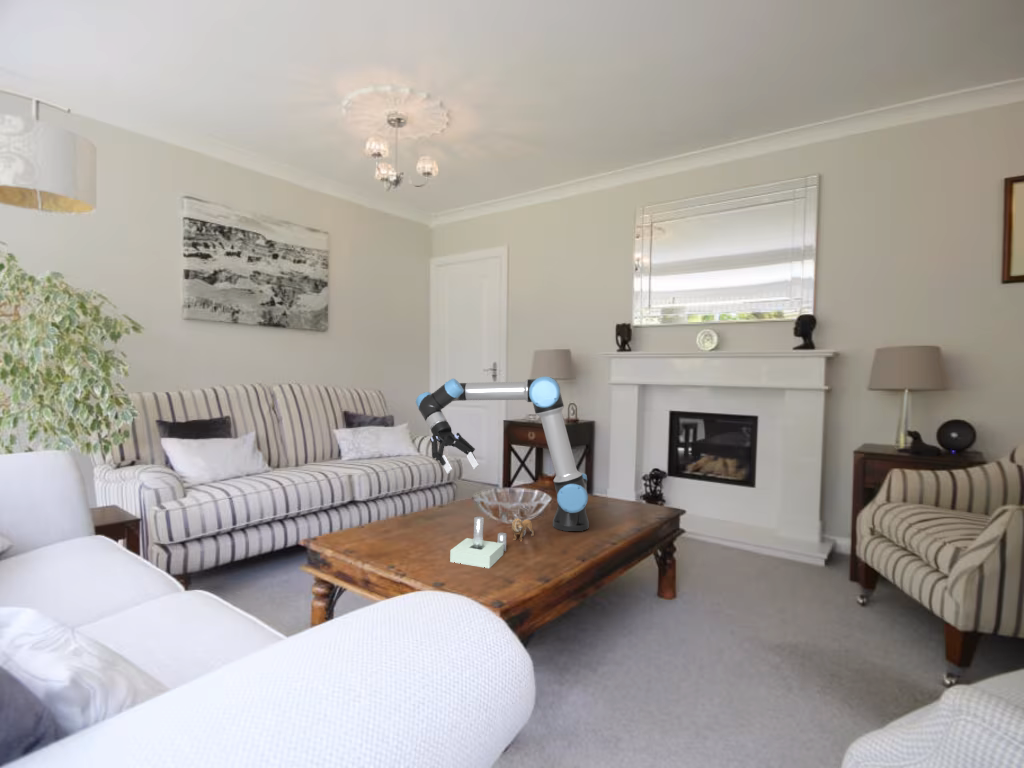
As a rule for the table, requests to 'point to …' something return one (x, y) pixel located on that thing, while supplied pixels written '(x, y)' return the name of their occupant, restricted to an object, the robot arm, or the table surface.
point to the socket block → (476, 553)
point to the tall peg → (478, 532)
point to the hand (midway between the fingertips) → (463, 469)
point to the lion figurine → (521, 527)
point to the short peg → (502, 539)
